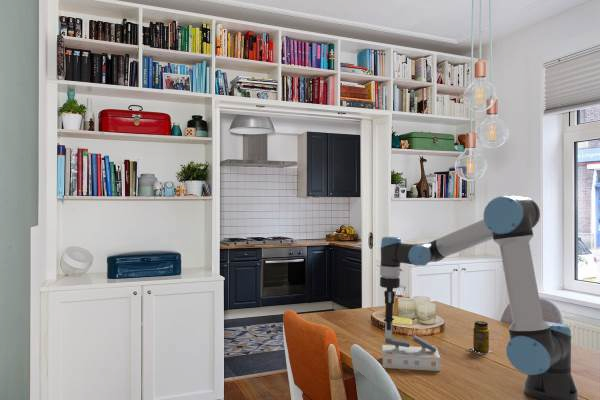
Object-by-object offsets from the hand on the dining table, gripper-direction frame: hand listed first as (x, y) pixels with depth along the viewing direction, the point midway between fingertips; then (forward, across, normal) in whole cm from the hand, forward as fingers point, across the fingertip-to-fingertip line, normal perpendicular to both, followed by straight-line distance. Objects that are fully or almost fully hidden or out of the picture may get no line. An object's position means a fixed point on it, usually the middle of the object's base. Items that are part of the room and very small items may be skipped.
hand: (388, 337), depth 184 cm
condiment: (+9, +22, -38) cm, 45 cm away
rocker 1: (+2, 0, -3) cm, 4 cm away
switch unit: (+10, 0, -8) cm, 13 cm away
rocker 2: (+2, 0, -13) cm, 13 cm away
